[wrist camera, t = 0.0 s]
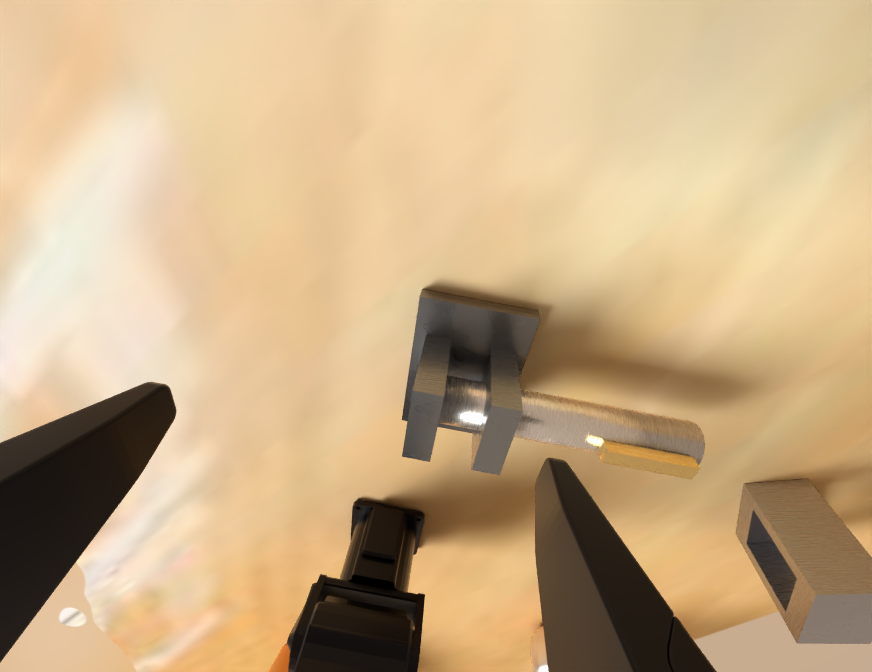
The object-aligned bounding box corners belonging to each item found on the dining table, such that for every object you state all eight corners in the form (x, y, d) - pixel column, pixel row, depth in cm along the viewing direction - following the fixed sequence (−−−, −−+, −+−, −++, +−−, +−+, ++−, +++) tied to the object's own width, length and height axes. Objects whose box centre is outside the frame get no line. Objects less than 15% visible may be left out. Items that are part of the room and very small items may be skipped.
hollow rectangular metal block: (792, 530, 31) (870, 643, 25) (735, 533, 32) (796, 643, 26) (807, 478, 28) (901, 593, 22) (744, 483, 29) (816, 594, 23)
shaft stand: (632, 453, 29) (664, 534, 24) (404, 410, 29) (386, 481, 24) (703, 342, 23) (766, 415, 18) (422, 289, 23) (404, 347, 18)
